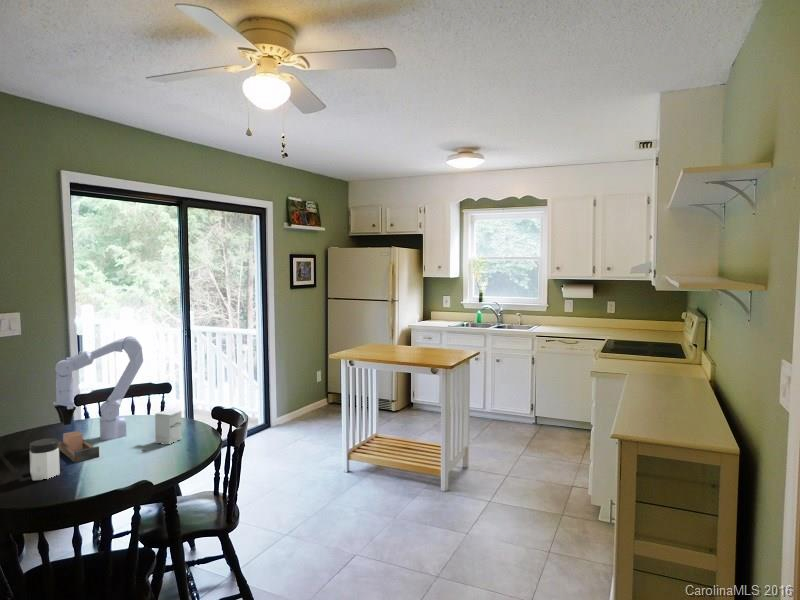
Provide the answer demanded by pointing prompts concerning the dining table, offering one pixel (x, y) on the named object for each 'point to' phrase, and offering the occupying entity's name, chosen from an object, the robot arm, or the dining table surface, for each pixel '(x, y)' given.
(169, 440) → the supplement box
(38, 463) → the jar
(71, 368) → the robot arm
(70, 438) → the terracotta block
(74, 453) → the brown wooden tray
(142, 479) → the dining table surface
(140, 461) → the dining table surface
